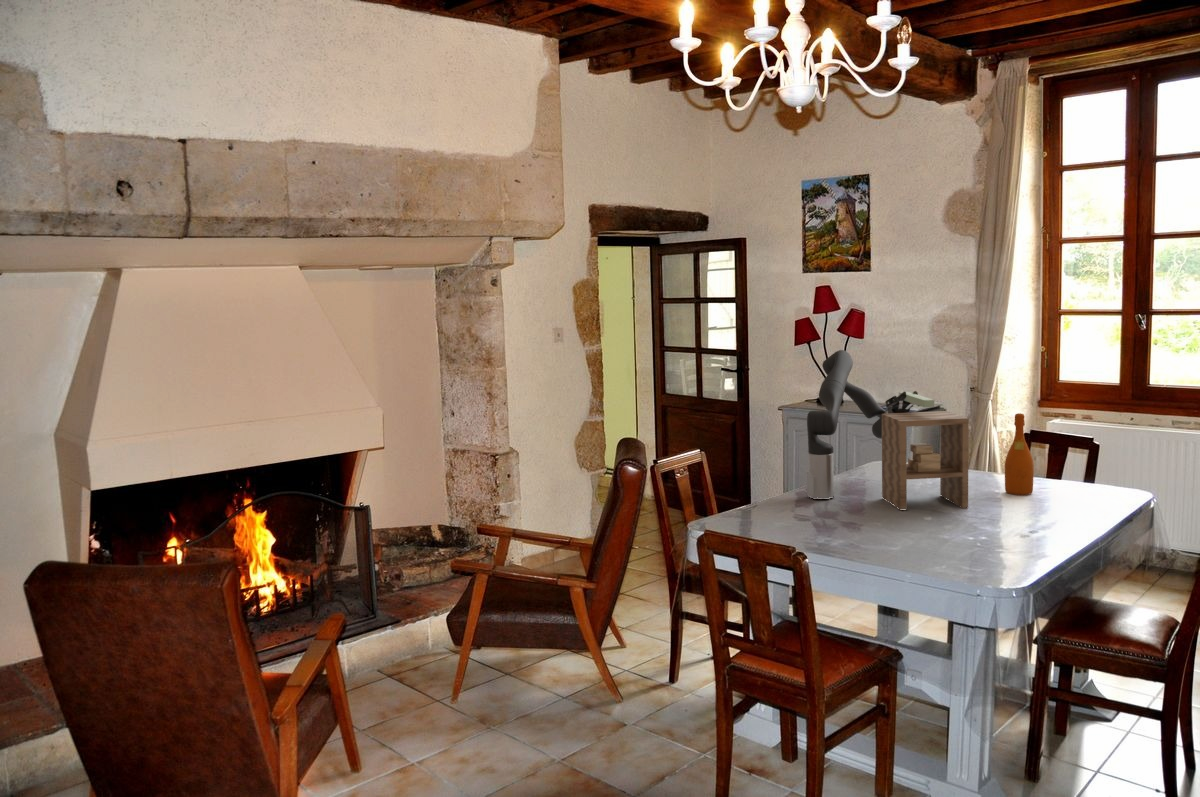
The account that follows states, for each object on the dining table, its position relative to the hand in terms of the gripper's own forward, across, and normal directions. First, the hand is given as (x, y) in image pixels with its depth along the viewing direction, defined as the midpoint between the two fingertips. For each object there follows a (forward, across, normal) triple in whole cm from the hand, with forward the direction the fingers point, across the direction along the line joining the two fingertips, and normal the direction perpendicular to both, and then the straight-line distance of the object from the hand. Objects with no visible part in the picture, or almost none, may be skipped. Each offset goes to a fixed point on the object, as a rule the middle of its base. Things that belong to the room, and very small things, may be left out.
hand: (910, 393), depth 354 cm
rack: (-8, 0, +40) cm, 41 cm away
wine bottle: (-16, +39, +36) cm, 55 cm away
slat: (+3, 0, +5) cm, 6 cm away
